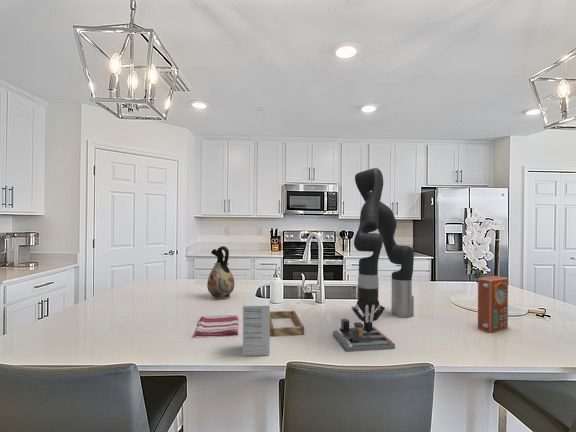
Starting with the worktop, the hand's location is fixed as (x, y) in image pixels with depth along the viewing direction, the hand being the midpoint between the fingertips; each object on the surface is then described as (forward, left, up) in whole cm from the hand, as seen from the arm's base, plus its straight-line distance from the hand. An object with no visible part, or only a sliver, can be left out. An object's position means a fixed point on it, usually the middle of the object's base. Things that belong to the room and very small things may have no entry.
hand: (367, 331), depth 123 cm
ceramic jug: (+58, -73, -4) cm, 94 cm away
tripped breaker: (+4, 0, -2) cm, 4 cm away
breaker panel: (+2, 0, -4) cm, 4 cm away
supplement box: (+42, +3, -4) cm, 42 cm away
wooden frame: (+29, -21, -4) cm, 36 cm away
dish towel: (+57, -24, -4) cm, 62 cm away
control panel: (-58, -6, -4) cm, 58 cm away
